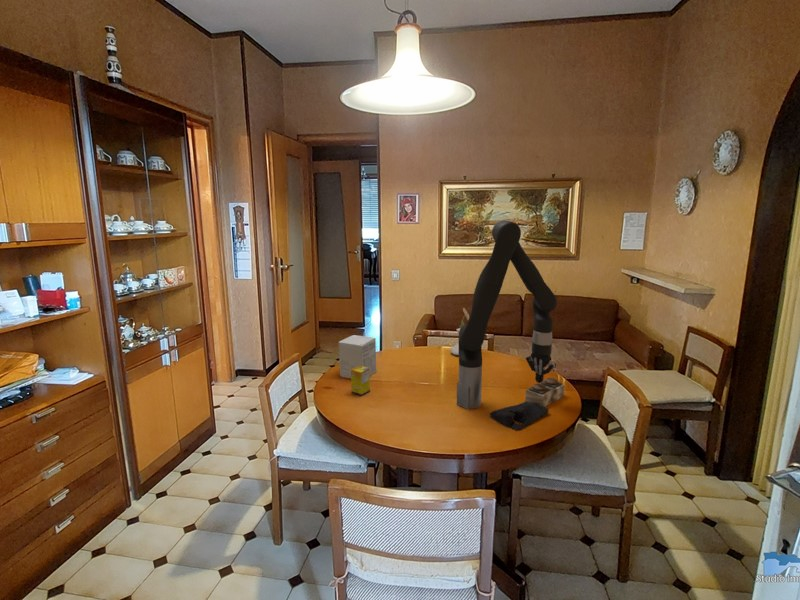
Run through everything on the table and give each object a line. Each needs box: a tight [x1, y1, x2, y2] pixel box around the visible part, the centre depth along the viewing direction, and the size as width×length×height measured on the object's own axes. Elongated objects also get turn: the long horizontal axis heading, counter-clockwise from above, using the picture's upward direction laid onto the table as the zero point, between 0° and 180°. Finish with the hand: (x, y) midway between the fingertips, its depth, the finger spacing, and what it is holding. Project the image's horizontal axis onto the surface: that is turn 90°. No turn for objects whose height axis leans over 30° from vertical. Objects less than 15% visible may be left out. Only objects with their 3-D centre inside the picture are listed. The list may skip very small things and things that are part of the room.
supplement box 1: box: [338, 334, 377, 379], centre depth 209 cm, size 13×13×18 cm
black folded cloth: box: [489, 401, 550, 431], centre depth 166 cm, size 15×22×5 cm
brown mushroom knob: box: [545, 377, 559, 385], centre depth 183 cm, size 5×5×6 cm
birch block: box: [524, 380, 566, 407], centre depth 180 cm, size 16×8×6 cm, turn 130°
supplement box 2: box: [350, 366, 371, 397], centre depth 189 cm, size 6×6×11 cm
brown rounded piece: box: [532, 383, 546, 391], centre depth 177 cm, size 5×5×6 cm
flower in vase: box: [449, 307, 470, 356], centre depth 235 cm, size 13×11×25 cm
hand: (539, 382), depth 176 cm, fingers closed
